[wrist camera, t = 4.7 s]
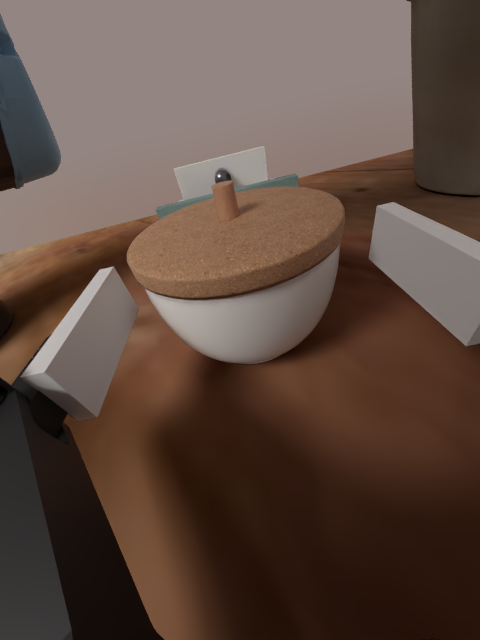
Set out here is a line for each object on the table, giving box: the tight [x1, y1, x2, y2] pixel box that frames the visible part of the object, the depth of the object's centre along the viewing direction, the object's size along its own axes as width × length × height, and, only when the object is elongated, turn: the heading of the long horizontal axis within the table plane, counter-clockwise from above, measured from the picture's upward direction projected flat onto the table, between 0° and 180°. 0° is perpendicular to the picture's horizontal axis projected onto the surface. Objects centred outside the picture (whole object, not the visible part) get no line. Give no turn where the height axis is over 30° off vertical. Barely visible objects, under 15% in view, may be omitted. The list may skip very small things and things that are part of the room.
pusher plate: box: [156, 174, 298, 219], centre depth 24 cm, size 1×13×5 cm, turn 95°
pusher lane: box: [174, 146, 274, 202], centre depth 31 cm, size 22×17×7 cm
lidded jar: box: [127, 181, 345, 364], centre depth 14 cm, size 11×11×9 cm
